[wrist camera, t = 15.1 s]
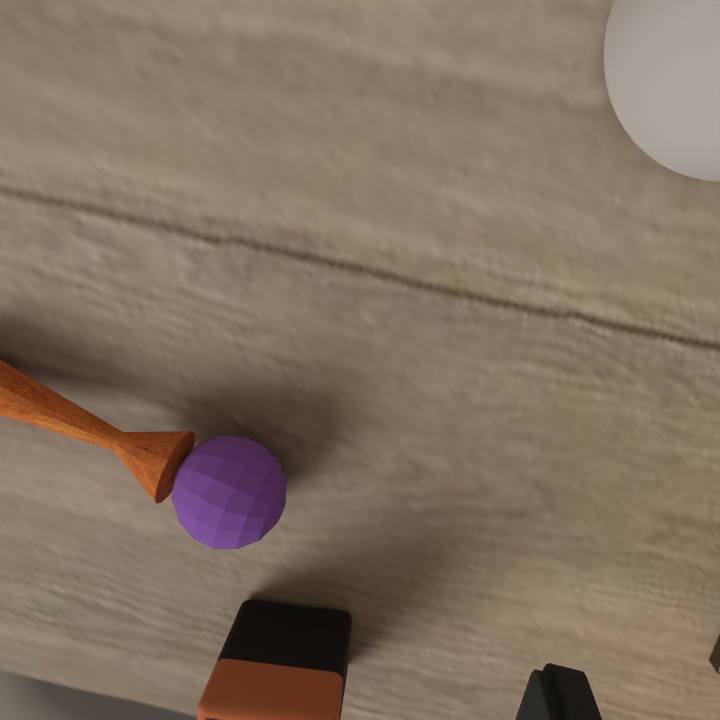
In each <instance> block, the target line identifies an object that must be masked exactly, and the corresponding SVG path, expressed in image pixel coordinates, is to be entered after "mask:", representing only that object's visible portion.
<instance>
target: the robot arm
mask: <svg viewBox="0 0 720 720" xmlns="http://www.w3.org/2000/svg"><path fill="white" fill-rule="evenodd" d="M516 720H602V718H601V716H600V713H599V710H598V707H597V704H596V702H595V699H594V696H593V693H592V690H591V688H590V685H589V682H588V679H587V677H586V675H585V673H584V672H582V671H579V670H575V669H571V668H567V667H563V666H559V665H555V664H551V663H549V664H546V666H545V667H544V669H543V671H540V670H534V671H533V672H532V673H531V676H530V678H529V681H528V684H527V687H526V690H525V693H524V696H523V699H522V702H521V705H520V708H519V711H518V714H517V717H516Z"/></svg>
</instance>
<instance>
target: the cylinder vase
mask: <svg viewBox="0 0 720 720" xmlns="http://www.w3.org/2000/svg"><path fill="white" fill-rule="evenodd" d="M604 73H605V80H606V85H607V90H608V94H609V97H610V100H611V103H612V106H613V108H614V111H615V113H616V115H617V117H618V119H619V121H620V123H621V124H622V126H623V128H624V129H625V131H626V132H627V133H628V135H629V136H630V137H631V139H632V140H633V141H634V142H635V143H636V144H637V145H638V146H639V147H640V148H641V149H642V150H643V151H644V152H645V153H646V154H647V155H648V156H650V157H651V158H652V159H654V160H655V161H657V162H658V163H660V164H661V165H663V166H665V167H667V168H669V169H671V170H673V171H675V172H677V173H680V174H683V175H685V176H689V177H692V178H696V179H701V180H707V181H716V182H720V0H614V2H613V5H612V8H611V11H610V15H609V18H608V22H607V27H606V33H605V40H604Z"/></svg>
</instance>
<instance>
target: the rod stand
mask: <svg viewBox="0 0 720 720" xmlns="http://www.w3.org/2000/svg"><path fill="white" fill-rule="evenodd" d="M709 661H710V663H711V664H712V666H713V667H714V669H715V670H716V672H717V673H718V674H720V635H719V637H718V640H717V642H716V645H715V647H714V649H713V652H712V654H711V657H710V659H709Z"/></svg>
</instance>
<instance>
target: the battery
mask: <svg viewBox="0 0 720 720" xmlns="http://www.w3.org/2000/svg"><path fill="white" fill-rule="evenodd" d="M351 624H352V618H351V615H350V614H349V613H347V612H344V611H336V610H328V609H320V608H312V607H304V606H295V605H287V604H279V603H271V602H263V601H254V600H247V601H244V602H243V603H242V605H241V607H240V609H239V611H238V614H237V616H236V618H235V621H234V623H233V625H232V628H231V630H230V632H229V635H228V637H227V639H226V641H225V644H224V646H223V648H222V651H221V653H220V655H219V658H218V660H217V662H216V665H215V667H214V669H213V672H212V674H211V676H210V679H209V681H208V683H207V686H206V688H205V690H204V692H203V695H202V697H201V699H200V702H199V704H198V711H197V720H340V718H341V711H342V704H343V697H344V690H345V683H346V676H347V668H348V658H349V647H350V635H351Z"/></svg>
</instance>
